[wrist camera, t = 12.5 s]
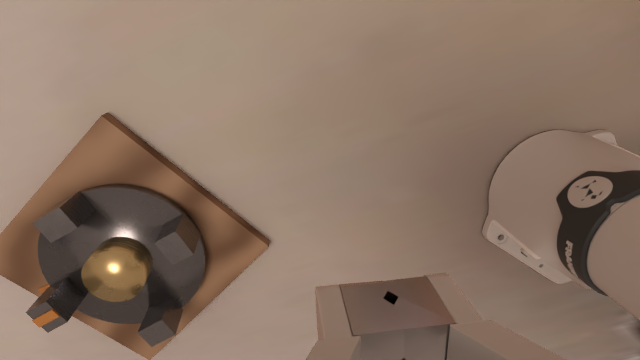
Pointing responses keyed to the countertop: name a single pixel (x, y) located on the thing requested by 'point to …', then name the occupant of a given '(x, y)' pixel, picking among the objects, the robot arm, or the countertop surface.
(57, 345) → the countertop surface
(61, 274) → the lathe chuck
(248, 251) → the base plate
